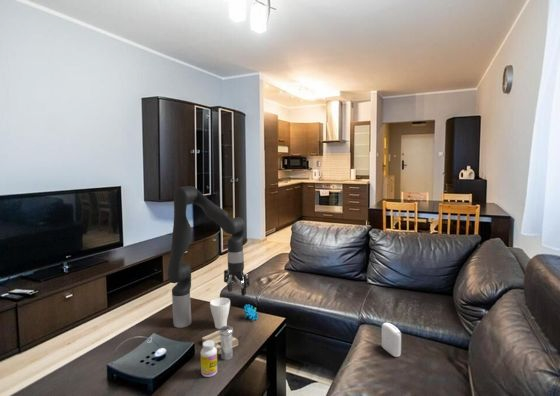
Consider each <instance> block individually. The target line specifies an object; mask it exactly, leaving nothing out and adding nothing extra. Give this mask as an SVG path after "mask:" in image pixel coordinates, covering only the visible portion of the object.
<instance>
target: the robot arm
mask: <svg viewBox="0 0 560 396" xmlns="http://www.w3.org/2000/svg"><path fill="white" fill-rule="evenodd" d="M192 204H193V205H196V206H198V207H200V208H201V209H202V211H203V213H204V214H205V216H206V217H207V218H209V219H210V220H211V221H213V223H216V224H217V225H218V227H220V228H221V230H222V231H223V232H225V233H226V234H228V235H231V237H230V238H229V239H228V240H227V269H225V270H224V271H223V282H224V283H226V285H227V291H228V293H231V292H233V282H236V283H237V284H238V285H239V286H240V289H241V291H240V293H241V295H240V296H242V297H244V296H246V295H247V288H249V287H250V284H251V283H250V274H249V273H246V274H245V273H244V270H245V261H244V259H245V258H244V257H245V256H244V245H243V242H244V241H243V240H244V238H245V237H244V236H245V233H246V223H245V221H244V219H243V218H242V217H239V216H236V217H233V218H230V217H229V212H227V211H226V210H225V209H223V208H221V207H220V206H218V205H217V204H215V203H213V202H212V200H209V198H208V197H206V195H204V194H203V193H202V192H201V191H200V190H199V189H197V188H196V187H195V186H193V185H186V186H181V187H180V186H179V187H177V188H176V189H175V191H174V194H173V226H172V233H171V234H172V235H171V237H172V238H171V249H170V257H169V260H168V261H169V262H168V267H167V278H168V280H169V282H170V283H172V284H175V285H174V286H173V287H172V289H171V299H172V300H171V301H172V322H173V326H174V328H179V329H181V328H186V327H189V326H190V325H192V310H191V305H192V304H191V303H192V302H191V288H192V269H191V266H190V264H189V263H187V262H185V261H183V262H182V259H183V256H184V255H185V252H187V249H188V248H189V246H190V244H191V240H192V226H191V224H190V222H189V220H188V217H187V208H188V207H187V206H188V205H192Z"/></svg>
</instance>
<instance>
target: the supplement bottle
mask: <svg viewBox="0 0 560 396" xmlns="http://www.w3.org/2000/svg"><path fill="white" fill-rule="evenodd" d="M200 373H201V376H203V377H205V378H211V377H213V376H215V375H216V374H217V373H218V353H217V349H216V348H215V347H214V341H212V340H208V341H205V342H204V343H202V349H201V350H200Z"/></svg>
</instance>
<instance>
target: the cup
mask: <svg viewBox="0 0 560 396" xmlns="http://www.w3.org/2000/svg"><path fill="white" fill-rule="evenodd" d="M209 307H210V308H209V309H210V312H211V315H212V317H213V321H214V327H215V329H217V330H219V329H220V328H221V327H223V326H228V325H227V324H228V317H229V313H230V308H231V299H230V298H227V297H218V298H213V299H212V300H211V301H209Z"/></svg>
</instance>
